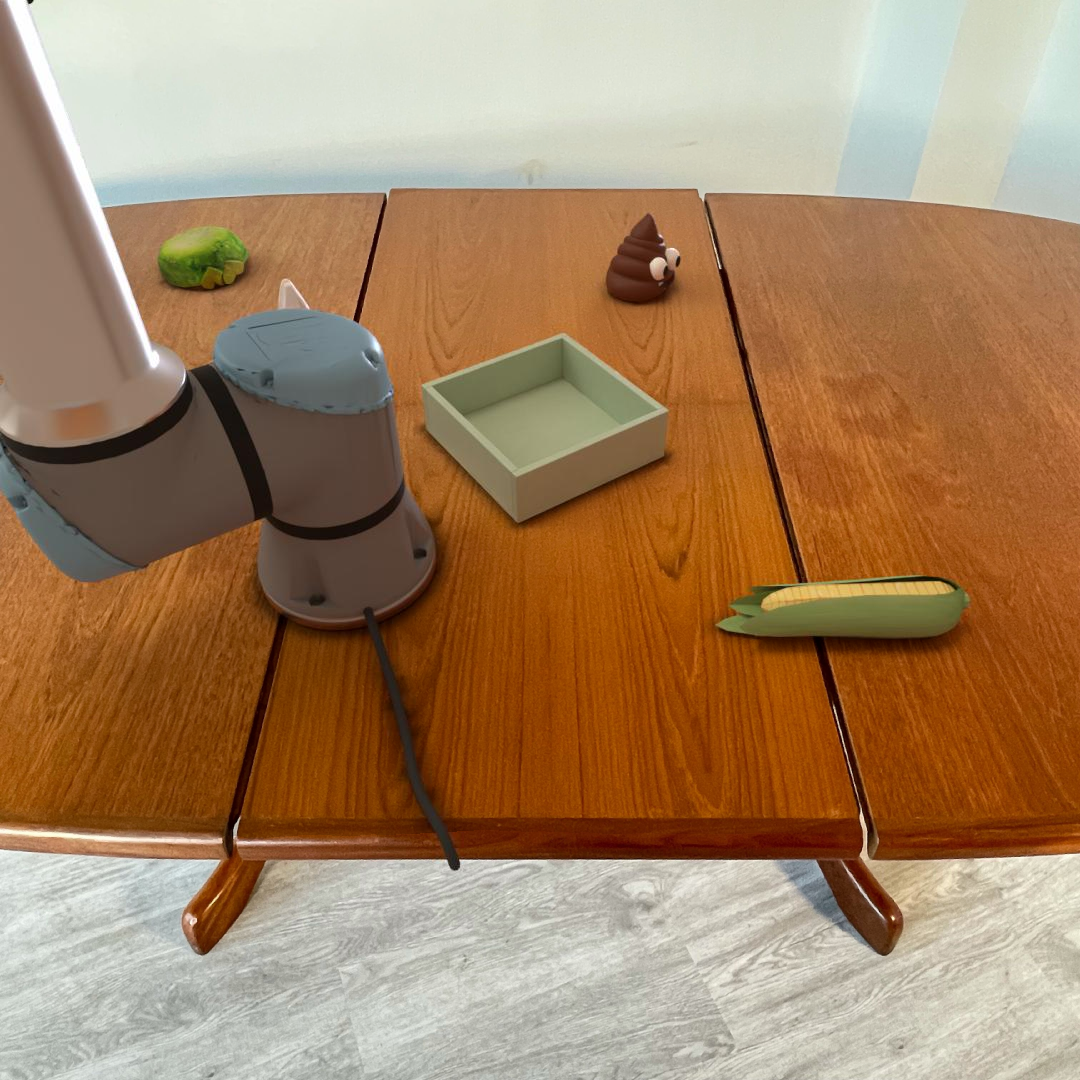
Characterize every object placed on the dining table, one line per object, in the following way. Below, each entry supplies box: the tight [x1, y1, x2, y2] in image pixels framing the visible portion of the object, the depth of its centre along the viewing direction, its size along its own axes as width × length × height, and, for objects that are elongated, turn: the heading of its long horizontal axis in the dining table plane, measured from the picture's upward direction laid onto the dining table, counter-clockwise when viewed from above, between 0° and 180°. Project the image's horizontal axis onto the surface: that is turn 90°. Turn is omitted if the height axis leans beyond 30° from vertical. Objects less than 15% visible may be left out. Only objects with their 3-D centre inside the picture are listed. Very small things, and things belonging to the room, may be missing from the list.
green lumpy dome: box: [156, 225, 249, 290], centre depth 116 cm, size 12×11×5 cm
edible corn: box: [715, 574, 971, 640], centre depth 71 cm, size 5×20×5 cm, turn 92°
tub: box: [420, 332, 670, 524], centre depth 88 cm, size 18×18×6 cm
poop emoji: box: [605, 212, 681, 303], centre depth 111 cm, size 10×8×9 cm
